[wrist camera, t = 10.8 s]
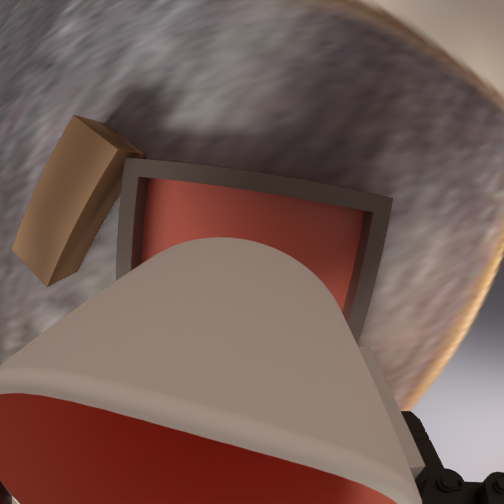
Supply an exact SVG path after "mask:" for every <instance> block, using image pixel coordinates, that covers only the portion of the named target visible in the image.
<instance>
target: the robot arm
mask: <svg viewBox="0 0 504 504" xmlns="http://www.w3.org/2000/svg"><path fill="white" fill-rule="evenodd" d="M358 348H359V350H360V352H361V354H362V356H363V358H364V361H365V363H366V365H367V367H368V370H369V372H370V374H371V376H372V378H373V381H374V383H375V385H376V387H377V390H378V392H379V394H380V397H381V399H382V401H383V404H384V406H385V408H386V411H387V413H388V415H389V418H390V420H391V422H392V425H393V427H394V430H395V432H396V435H397V437H398V440H399V442H400V444H401V447H402V449H403V452H404V455H405V457H406V460H407V462H408V465H409V467H410V470H411V473H412V475H413V478H414V480H415V483H416V486H417V489H418V491H419V494H420V497H421V500H422V504H504V473H503V472H494V473H492V474H490V475H489V476H488V477H487V478H486V479H485V480H484V481H483V482H464V480H463V479H462V477H461V476H460V475H459V474H458V473H457V472H455V471H453V470H450V469H445V468H444V467H443V465H442V463H441V461H440V459H439V457H438V455H437V453H436V451H435V448H434V446H433V445H432V442H431V441H430V440H429V436H428V434H427V433H426V432H425V429H424V427H423V425H422V423H421V421H420V419H418V418H417V417H416V416H415V415H414V414H413V413H412V412H411V411H400V409H399V407H398V405H397V403H396V401H395V398H394V396H393V394H392V392H391V390H390V388H389V386H388V384H387V382H386V380H385V378H384V376H383V374H382V372H381V370H380V368H379V366H378V364H377V362H376V360H375V358H374V356H373V354H372V352H371V350H370V349H369V348H365V347H358ZM0 504H12V496H11V495H10V494H9V492H8V491H7V489H6V488H5V487H4V485H3V484H2V482H1V481H0Z"/></svg>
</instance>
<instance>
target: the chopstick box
mask: <svg viewBox="0 0 504 504" xmlns="http://www.w3.org/2000/svg"><path fill="white" fill-rule="evenodd" d="M144 156H145V154H144V153H143V152H142V151H140V150H139V149H138V148H136V147H135V146H134V145H132V144H131V143H130V142H128V141H127V140H126V139H124V138H123V137H122V136H120V135H119V134H118V133H116V132H115V131H114V130H112V129H111V128H110V127H108V126H107V125H106V124H104V123H101V122H97V121H94V120H90V119H87V118H83V117H79V116H76V115H73V117H72V118H71V120H70V122H69V123H68V125H67V127H66V129H65V130H64V132H63V134H62V136H61V138H60V139H59V141H58V143H57V145H56V147H55V149H54V151H53V152H52V154H51V156H50V158H49V160H48V162H47V164H46V166H45V168H44V170H43V173H42V175H41V177H40V179H39V181H38V183H37V186H36V188H35V190H34V192H33V195H32V197H31V199H30V202H29V204H28V207H27V209H26V211H25V214H24V217H23V219H22V222H21V224H20V227H19V230H18V233H17V235H16V238H15V241H14V244H13V247H12V250H13V251H14V252H15V253H16V254H17V256H18V257H19V258H20V259H21V260H22V261H23V262H24V263H25V264H26V266H27V267H28V268H29V269H30V270H31V271H32V272H33V273H34V274H35V275H36V276H37V277H38V278H39V279H40V280H41V282H42V283H43V284H44V285H45V286H46V287H48V286H50V285H52V284H54V283H56V282H58V281H60V280H62V279H63V278H65V277H67V276H69V275H71V274H73V273H75V272H77V271H78V269H79V267H80V265H81V263H82V261H83V259H84V257H85V255H86V253H87V251H88V249H89V247H90V245H91V243H92V241H93V240H94V238H95V236H96V234H97V232H98V230H99V229H100V227H101V225H102V223H103V222H104V220H105V218H106V216H107V215H108V213H109V211H110V209H111V208H112V206H113V204H114V203H115V201H116V199H117V198H118V196H119V194H120V193H121V188H122V179H123V170H124V162H125V158H136V159H143V157H144Z"/></svg>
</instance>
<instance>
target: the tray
mask: <svg viewBox="0 0 504 504" xmlns="http://www.w3.org/2000/svg"><path fill="white" fill-rule="evenodd" d="M392 201H393V198H390V197H385V196H381V195H377V194H372V193H368V192H363V191H359V190H354V189H349V188H344V187H339V186H334V185H329V184H324V183H319V182H313V181H308V180H302V179H297V178H291V177H285V176H279V175H272V174H266V173H260V172H253V171H246V170H239V169H232V168H224V167H216V166H208V165H199V164H190V163H181V162H171V161H160V160H149V159H136V158H125V162H124V170H123V179H122V188H121V198H120V209H119V222H118V238H117V261H116V281H117V280H118V279H120V278H121V277H123V276H124V275H126V274H127V273H129V272H130V271H132V270H133V269H135V268H136V267H138V266H139V265H141V264H142V263H144V262H145V261H147V260H148V259H150V258H152V257H153V256H155V255H156V254H158V253H160V252H161V251H164V250H166V249H168V248H170V247H172V246H175V245H178V244H180V243H184V242H187V241H191V240H197V239H203V238H214V237H228V238H238V239H245V240H250V241H254V242H258V243H261V244H265V245H267V246H270V247H273V248H275V249H277V250H279V251H281V252H283V253H285V254H287V255H289V256H291V257H292V258H294V259H296V260H297V261H299V262H300V263H302V264H303V265H304V266H305V267H307V268H308V269H309V270H310V271H312V272H313V273H314V274H315V275H316V276H317V277H318V278H319V279H320V280H321V281H322V282H323V284H324V285H325V286H326V287H327V289H328V290H329V291H330V292H331V294H332V295H333V297H334V298H335V300H336V302H337V304H338V306H339V308H340V310H341V312H342V314H343V316H344V318H345V320H346V322H347V324H348V326H349V328H350V330H351V333H352V335H353V337H354V339H355V341H356V343H358V340H359V336H360V333H361V330H362V327H363V323H364V320H365V317H366V313H367V310H368V306H369V303H370V299H371V295H372V292H373V288H374V284H375V280H376V276H377V272H378V268H379V264H380V260H381V255H382V251H383V246H384V242H385V237H386V232H387V227H388V222H389V217H390V212H391V206H392Z"/></svg>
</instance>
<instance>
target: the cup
mask: <svg viewBox="0 0 504 504" xmlns="http://www.w3.org/2000/svg"><path fill="white" fill-rule="evenodd" d="M0 481H1V482H2V484H3V485H4V487H5V488H6V489H7V491H8V492H9V494H10V495H11V496H12V497H13V498H14V499H15V500H16V502H17V503H18V504H422V500H421V497H420V494H419V491H418V489H417V486H416V483H415V480H414V478H413V475H412V473H411V470H410V467H409V465H408V462H407V460H406V457H405V455H404V452H403V449H402V447H401V444H400V442H399V440H398V437H397V435H396V432H395V430H394V427H393V425H392V422H391V420H390V418H389V415H388V413H387V411H386V408H385V406H384V404H383V401H382V399H381V397H380V394H379V392H378V390H377V387H376V385H375V383H374V381H373V378H372V376H371V374H370V372H369V370H368V367H367V365H366V363H365V361H364V358H363V356H362V354H361V352H360V350H359V348H358V345H357V343H356V341H355V339H354V337H353V335H352V333H351V330H350V328H349V326H348V324H347V322H346V320H345V318H344V316H343V314H342V312H341V310H340V308H339V306H338V304H337V302H336V300H335V298H334V297H333V295H332V294H331V292H330V291H329V290H328V289H327V287H326V286H325V285H324V284H323V282H322V281H321V280H320V279H319V278H318V277H317V276H316V275H315V274H314V273H313V272H312V271H310V270H309V269H308V268H307V267H305V266H304V265H303V264H302V263H300V262H299V261H297V260H296V259H294V258H292V257H291V256H289V255H287V254H285V253H283V252H281V251H279V250H277V249H275V248H273V247H270V246H267V245H265V244H261V243H258V242H254V241H250V240H245V239H238V238H228V237H214V238H203V239H197V240H191V241H187V242H184V243H180V244H178V245H175V246H172V247H170V248H168V249H166V250H164V251H161V252H160V253H158V254H156V255H155V256H153V257H152V258H150V259H148V260H147V261H145V262H144V263H142V264H141V265H139V266H138V267H136V268H135V269H133V270H132V271H130V272H129V273H127V274H126V275H124V276H123V277H121V278H120V279H118V280H117V281H115V282H114V283H112V284H111V285H109V286H108V287H106V288H105V289H103V290H102V291H101V292H99V293H98V294H96V295H95V296H93V297H92V298H90V299H89V300H88V301H86V302H85V303H83V304H82V305H80V306H79V307H78V308H76V309H75V310H73V311H72V312H71V313H69V314H68V315H66V316H65V317H64V318H62V319H61V320H59V321H58V322H57V323H55V324H54V325H53V326H51V327H50V328H49V329H47V330H46V331H44V332H43V333H42V334H40V335H39V336H38V337H36V338H35V339H34V340H32V341H31V342H30V343H28V344H27V345H26V346H24V347H23V348H22V349H20V350H19V351H18V352H17V353H15V354H14V355H13V356H11V357H10V358H9V359H8V360H6V361H5V362H4V363H2V364H1V365H0Z"/></svg>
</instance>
